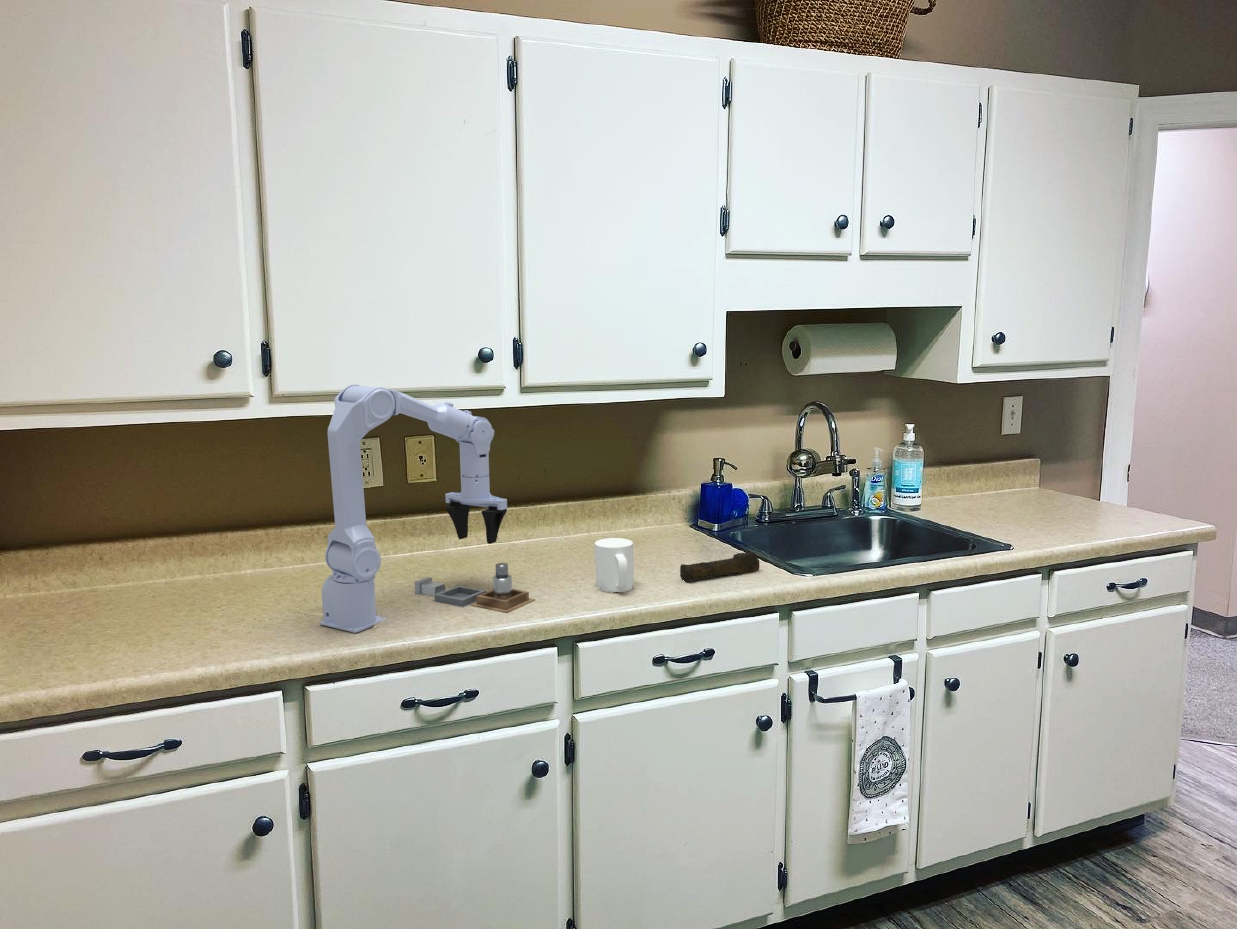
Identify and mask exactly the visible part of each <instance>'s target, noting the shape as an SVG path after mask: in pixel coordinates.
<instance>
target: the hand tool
mask: <svg viewBox="0 0 1237 929" xmlns="http://www.w3.org/2000/svg"><path fill="white" fill-rule="evenodd" d="M759 570H760V559H759V558H758V555H757V554H756V553H755V552H754V551H747V552H737V553H735V554H733V556H732V557H730V558H724V559H720V560H714V561H707V562H705V561H702V562H699V563H698V562H696V563H691V564H682V563H681V564H680V568H679V574H680V575H679V577H680V579H682V580H681V581H683V580H684V581H685V583H690V581H692V582H695V581H696V580H701V579H705V578H706V579H707V578H711V577H712V578H713V577H714V578H715V577H720V576H726V575H729V574H735V575H737V576H743V574H744V575H748V574H751V573H754V572H757V571H759ZM684 581H683V582H684Z"/></svg>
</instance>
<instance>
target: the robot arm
mask: <svg viewBox="0 0 1237 929" xmlns="http://www.w3.org/2000/svg"><path fill="white" fill-rule="evenodd" d="M334 407H335V408H334V410H333V414H332V417H331V419H330V421H329V422H330V423H329V425H328V427H327V442H328V444H327V445H328V456H329V467H330V468H329V469H330V478H331V479H330V480H331V491H332V492H331V493H332V504H333V515H334V516H333V517H334V525H335V526H334V528H333V529H332V530H330V532H329V533H328V534H327V538H328V539H327V540H328V541H327V542H328V543H327V547H326V550H325V553H324V560H325V563H326V565H327V567H328V568H329V569H331V570H332V572H331V573H332V574H331V575H329V576H328V577H326V579H325V580H324V581H323V585H322V588H321V600H322V602H321V604H322V616H323V617H322V619H323V620H321V621H320V622H319V623H320V624H319V625H321V626H325V627H329V628H330V627H331V628H334V629H336V630H337V629H338V630H342V631H347V632H350V633H355V634H356V633H359V632H361V631H364V630H367V629H370V628H371V627H375V624H377V623H381V622H382V621H385V620H387V617H382V616H379V615H377V607H376V606H377V605H376V603H377V602H376V589H375V585H376V584H375V579H376V575H377V573H378V572H379V570H380V567H381V563H382V557H381V554H380V552H379V550H378V549H377V547H376V542H375V541H376V539H375V537H374V535H373V533H372V532H371V530H370V529H369V527H368V526H367V519H366V518H367V517H366V516H367V515H366V506H365V505H366V502H365V493H364V479H363V464H362V450H361V440H362V439H363V438H364V437H365V436H366V435H367V434H368V433H369V432H370V431H372V430H373V429H375V428H377V427H378V426H380V425H382V424H383V423H385V422H387V421H388V420H390V418H391V417H392V416H397V415H399V414H400V415H401V414H402V415H405V416H407V417H411V418H413V419H417V420H421V421H423V422H427V426H428V428H429V430H431V431H432V432H434V433H437V434H441V435H444V436H446V437H448V438H450V439H453V440H455V441H456V443H459V462H460V463H459V465H460V468H459V469H460V485H461V486H460V489H461V490H460V492H452V491H451V492H447V493H445V503H446V504H449V505H447V506H445V511H446V513H447V514H448V515H449V517H450V518H451V521H452V523H453V525H454V528H455V531H456V535H457V539H458V540H463V539H465V538H466V539H467V538H468V532H469V515H470V508H471V506H474V507H482V508H487V509H483V510H481V515H482V517H483V520H484V526H485V535H486V544H488V545H492V544H495V543H497V538H498V535H499V531H500V527H501V523H502V521H503V520H504V517H505V515H506V513H507V511H508V510H507V509H508V499H507V498H502V497H499V496H495V495H492V493H491V492H490V489H491V488H490V460H489V459H490V458H489V457H490V456H489V453H490V451H491V443H492V440H494V435H495V429H493V427H492V424H491V422H489V420H488V419H487V418H486V417H484V416H474V415H473V414H472V411H469V410H461V409H459V408H456V407H454V403H452V402H448V401H444V402H439V403H436V404H434V405H431V404H428V403H427V402H424V401H422V400H419V399H417V398H416V397H412V396H411V395H409V394H405V393H404V392H401V391H398V390H393V389H387V388H386V387H382V386H381V387H380V386H376V387H375V386H367V385H366V386H365V385H359V384H350V385H347V386H346V387H344V388H343V389H342V390H341V391H340V392H339V393H338V395H336V396H335V397H334Z"/></svg>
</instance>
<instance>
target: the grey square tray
mask: <svg viewBox="0 0 1237 929" xmlns="http://www.w3.org/2000/svg"><path fill="white" fill-rule="evenodd" d="M485 592H487V590H484V589H480V588H474V587H469V586H464V585H460V584H459V585H456V586H454V587H451V588H448V589H445V591H443V592H440V593H438V594H435V597H434V599H433V600H432V602H434V603H440V604H444V605H448V606H449V605H450V606H454V607H460V608H465V607H468V606H470V604H473V603H475V602H477V596H478V595H480V594H483V593H485Z"/></svg>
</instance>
